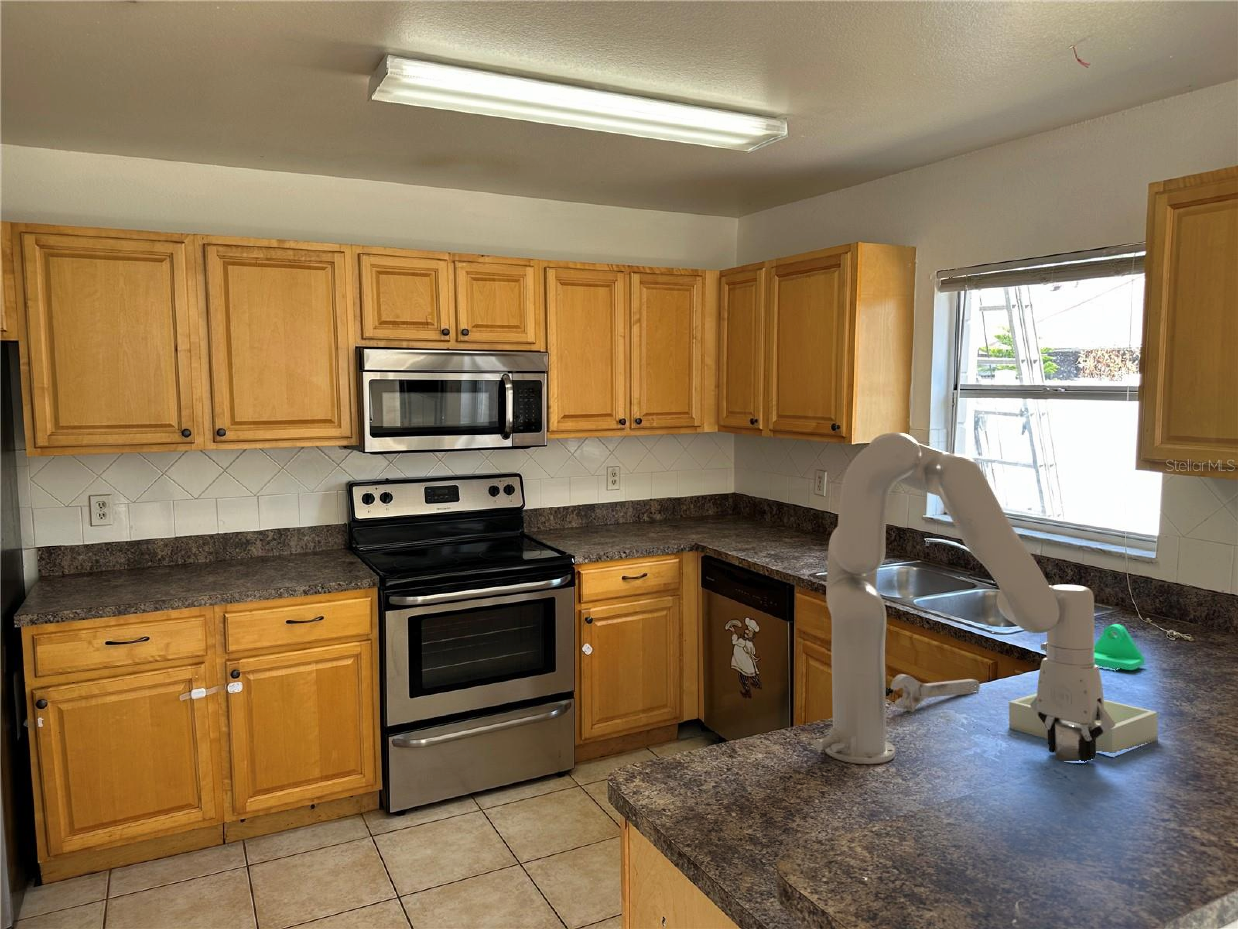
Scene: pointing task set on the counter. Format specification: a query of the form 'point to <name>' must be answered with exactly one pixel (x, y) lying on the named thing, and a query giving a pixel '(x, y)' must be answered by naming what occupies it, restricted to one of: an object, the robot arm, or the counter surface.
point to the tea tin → (1068, 741)
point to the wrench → (929, 690)
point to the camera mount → (1117, 650)
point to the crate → (1127, 733)
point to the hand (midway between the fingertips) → (1071, 754)
